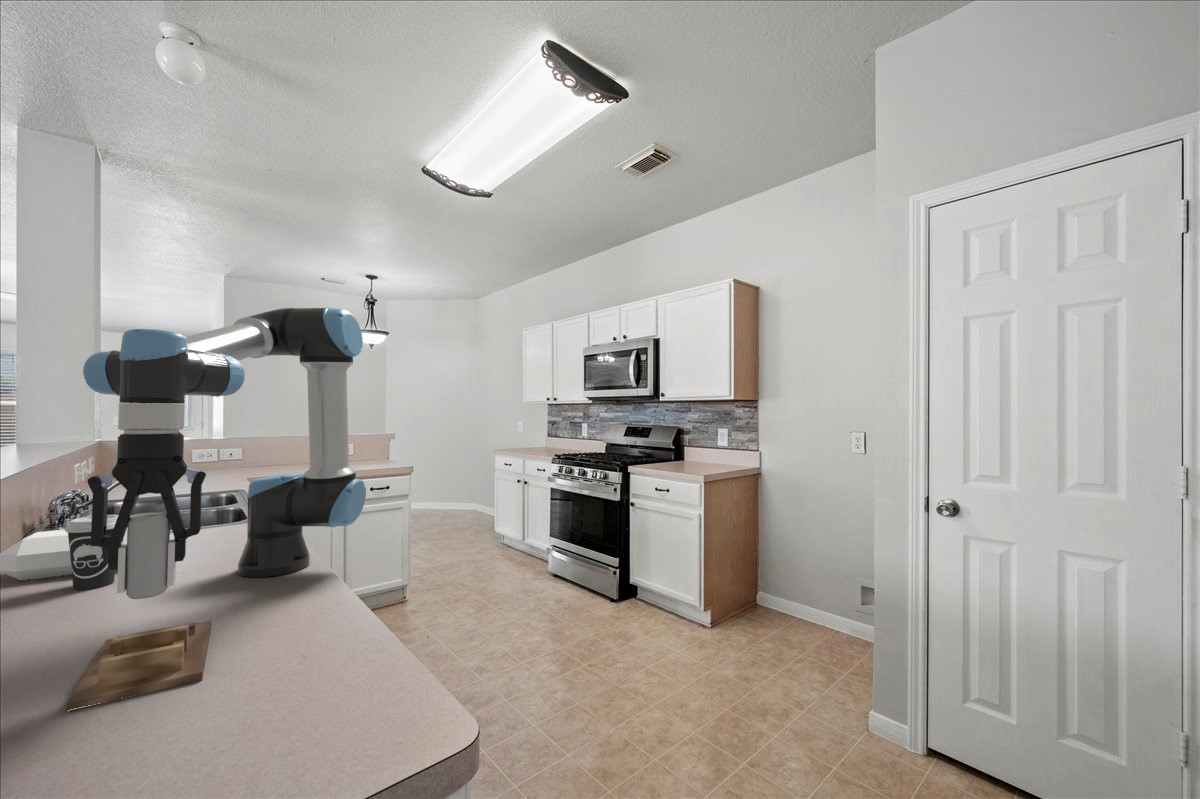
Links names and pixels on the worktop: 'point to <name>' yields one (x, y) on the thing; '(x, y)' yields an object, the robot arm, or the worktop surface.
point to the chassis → (144, 664)
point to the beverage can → (147, 554)
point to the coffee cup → (89, 555)
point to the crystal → (39, 556)
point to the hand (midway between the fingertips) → (147, 586)
